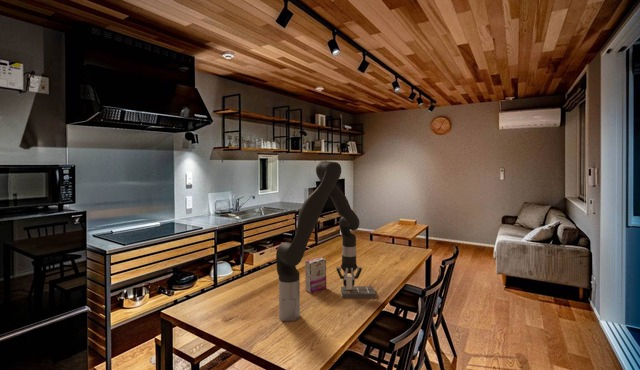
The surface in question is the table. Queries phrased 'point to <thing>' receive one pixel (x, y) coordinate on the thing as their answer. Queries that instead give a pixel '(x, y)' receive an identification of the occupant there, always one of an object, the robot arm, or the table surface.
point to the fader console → (358, 292)
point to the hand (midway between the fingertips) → (348, 286)
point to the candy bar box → (315, 274)
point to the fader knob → (349, 282)
